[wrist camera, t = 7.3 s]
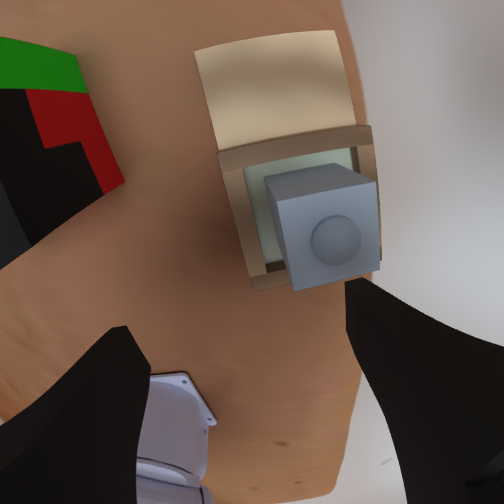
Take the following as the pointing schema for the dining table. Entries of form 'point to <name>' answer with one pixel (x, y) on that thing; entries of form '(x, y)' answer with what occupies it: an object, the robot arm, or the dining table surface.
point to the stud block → (325, 223)
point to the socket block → (279, 129)
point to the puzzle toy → (46, 145)
